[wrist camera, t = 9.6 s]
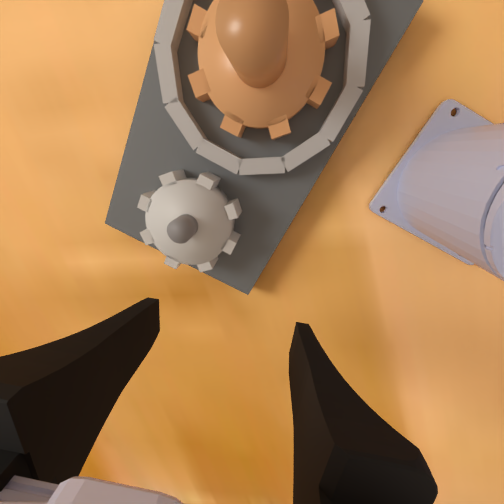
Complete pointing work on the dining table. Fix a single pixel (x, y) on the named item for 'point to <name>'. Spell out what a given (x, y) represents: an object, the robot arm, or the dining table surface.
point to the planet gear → (261, 60)
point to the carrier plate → (237, 147)
